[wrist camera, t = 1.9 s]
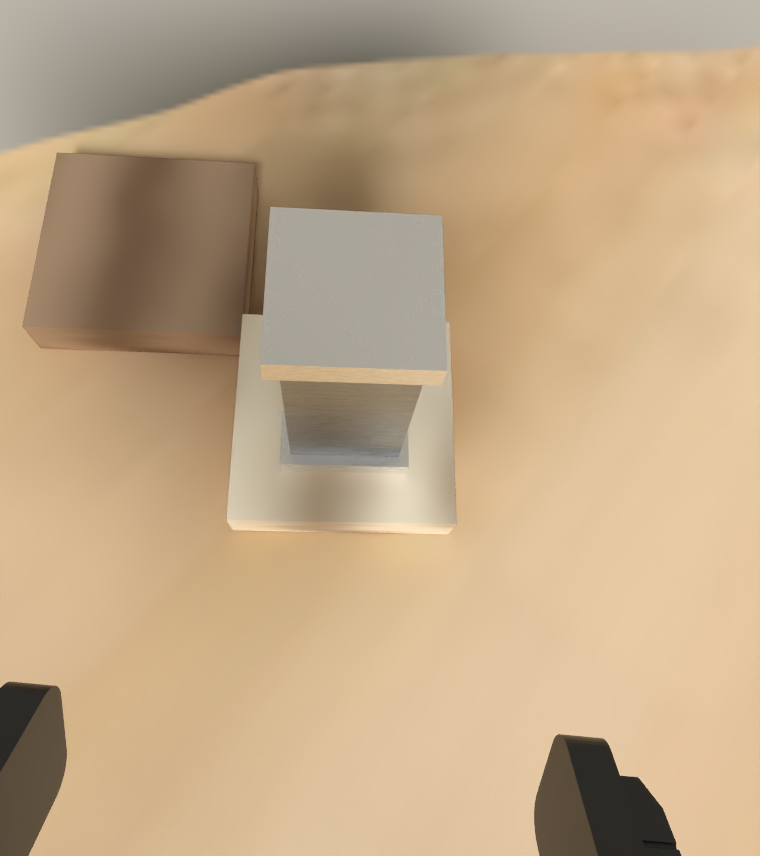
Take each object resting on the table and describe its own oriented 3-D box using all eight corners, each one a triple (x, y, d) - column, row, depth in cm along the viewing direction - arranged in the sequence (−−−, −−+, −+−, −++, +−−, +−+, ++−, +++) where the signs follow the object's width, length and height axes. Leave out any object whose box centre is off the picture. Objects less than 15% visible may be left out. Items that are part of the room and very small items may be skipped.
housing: (404, 361, 30) (442, 215, 20) (405, 474, 28) (447, 370, 19) (287, 357, 29) (270, 206, 20) (281, 471, 28) (259, 364, 18)
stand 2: (442, 342, 32) (449, 321, 31) (448, 534, 29) (456, 524, 28) (247, 335, 32) (242, 313, 30) (232, 530, 29) (226, 519, 27)
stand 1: (258, 191, 35) (254, 163, 33) (245, 355, 32) (240, 334, 30) (71, 181, 34) (57, 152, 32) (40, 347, 31) (22, 326, 29)
